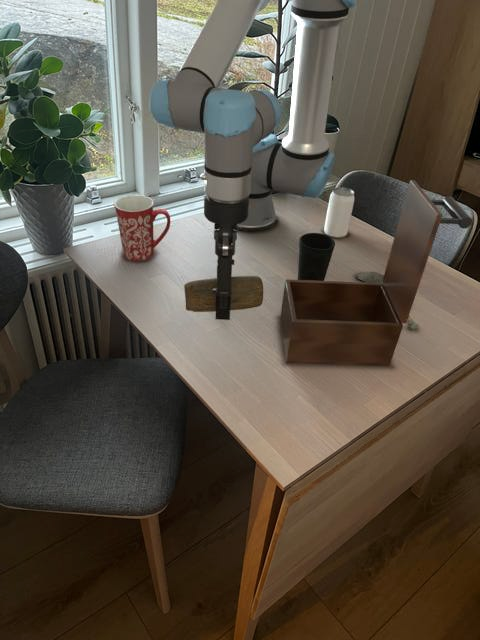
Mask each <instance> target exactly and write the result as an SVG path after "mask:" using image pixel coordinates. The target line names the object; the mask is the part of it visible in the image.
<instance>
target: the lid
mask: <svg viewBox="0 0 480 640" xmlns="http://www.w3.org/2000/svg"><path fill="white" fill-rule="evenodd" d="M438 206H442V208H443V209H444V210H445V211H446V212H447V213H448V214H449V216H450V217H443V213H442V212H441V211H440V209H439V208H438ZM399 215H400V216H399V219H398V222H397V226H396V230H395V234H394V238H393V241H392V245H391V248H390V252H389V255H388V258H387V263H386V266H385V270H384V273H383V275H384V277H383V283H384V286H385V288H386V290H387V292H388V294H389V296H390V299H391V301H392V303H393V305H394V307H395V309H396V311H397V314H398V316H399V318H400V320H401V322H402V324H407V323H408V317H409V315H410V314H411V310H412V308H413V305H414V301H415V299H416V297H417V296H416V295H417V292H418V290H419V287H420V284H421V280H422V278H423V275H424V272H425V268H426V265H427V263H428V260H429V257H430V254H431V250H432V249H433V244H434V241H435V238H436V236H437V233H438V229H439V228H440V224H443V225H447V224H448V225H458V226H459V228H461V229H465V230H466V229H468V228H470V227H471V226H472V224H473V218H472V217H471V216H470V215H469V214H468V212H466V211H465V210H464V209H463V207H462V206H461V205H460V204H459V203H458V202H457V201H456V200H455V198H454V197H453V196H445V197H444V198H443V199H431V198H430V197H429V196H428V195H427V194H426V192H425V190H423V189H422V187H421V186H420V185H419V184H418V183H417V181H416V180H415V179H410V180H409V183H408V187H407V191H406V194H405V197H404V201H403V205H402V208H401V211H400V214H399Z"/></svg>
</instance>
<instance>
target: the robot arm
mask: <svg viewBox="0 0 480 640" xmlns="http://www.w3.org/2000/svg"><path fill="white" fill-rule="evenodd" d="M270 1H271V0H217V1H216V3H215V5H214V6H213V8H212V10H211V12H210V13H209V16H208V18H207V19H206V21H205V23H204V25H203V26H202V28H201V30H200V32H199V34H198V36H197V37H196V40H195V41H194V43H193V45H192V47H191V48H190V51H189V52H188V53H187V56H186V58H185V60H184V62H183V64H182V65H181V67H180V69H179V70H178V72H177V74H176V76H175V77H174V79H171V78H167V79H160V80H158V81H156V82H155V83H154V84H153V86H152V87H151V90H150V94H149V102H148V103H149V104H148V105H149V111H150V114H151V116H152V119H153V120H154V122H155V123H156V124H158V125H160V126H163V127H168V128H170V129H171V128H172V129H174V130H182V131H189V132H195V133H198V134H199V133H200V134H203V136H204V137H203V138H204V139H203V140H204V164H203V165H204V173H201V174H200V176H199V177H200V180H202V181H204V187H203V189H204V196H203V215H204V217H205V219H206V220H207V221H209V222H211V223H213V224H214V229H213V239H214V243H215V245H214V246H215V247H214V254H215V255H216V256H217V260H216V262H217V265H216V278H217V288H216V289H213V293H216V312H215V320H220V321H221V320H224V321H230V320H231V310H230V305H231V294H232V292H231V277H233V275H232V273H233V266H235V259H233V257H234V256H235V254H236V241H237V240H238V231H243V232H259V231H265V230H267V229H270V228H271V227H273V226H274V225H275V223H276V218H277V216H276V215H277V214H276V210H275V205H274V201H273V196H272V193H273V192H272V191H277V192H281V193H285V194H291V195H294V196H300V197H302V198H305V197H306V198H311V199H317V198H319V197H320V196H321V195H322V194H323V193H324V191H325V189H326V186H327V184H328V181H329V178H330V176H331V173H332V170H333V167H334V163H335V159H336V158H335V157H336V155H335V153H333V152H332V151H330V142H329V140H328V139H327V138H326V137H325V134H326V127H327V120H328V112H329V105H330V104H329V103H330V96H331V90H332V81H333V75H334V67H335V66H334V65H335V60H336V51H337V44H338V38H339V37H338V36H339V30H340V25H341V24H342V22H343V21H345V20H346V19H347V18H348V17H349V12H350V9H351V8H353V7H355V6H356V5H357V4H358V2H359V0H287V1H288V2H291V10H290V11H291V12H290V14H291V16H292V17H293V18H294V20H295V21H296V23H297V29H296V40H295V43H296V44H295V51H294V65H293V66H294V67H293V79H292V91H291V101H290V102H291V103H290V113H289V114H290V116H289V128H288V134H287V135H286V136H285V137H284V138H283V139H282V141H281V143H279V142H278V141H279V140H278V136H277V135H276V134H273V132H274V130H275V129H276V128H277V127H278V125H279V124H280V122H281V121H280V120H281V117H282V108H281V103H280V101H279V100H278V97H277V96H276V95H275V94H274V93H273V92H272V91H270V90H267V89H265V88H259V89H258V88H256V89H251V90H249V91H248V92H247V91H244V90H239V89H226V88H220V87H221V85H222V83H223V81H224V80H225V78H226V76H227V73H228V72H229V70H230V68H231V65H232V64H233V62H234V60H235V59H236V55H237V54H238V52H239V50H240V49H241V46H242V44H243V42H244V40H245V38H246V36H247V34H248V32H249V30H250V29H251V26H252V24H253V22H254V21H255V19H256V17H257V15H258V13H259V12H261V11H263V10H264V9H266V8H267V6H268V4H269V2H270Z"/></svg>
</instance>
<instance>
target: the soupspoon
mask: <svg viewBox="0 0 480 640" xmlns="http://www.w3.org/2000/svg"><path fill="white" fill-rule="evenodd" d="M383 277H384V273H383V274H382V273H381V272H377V271H365V272H362V273H360V274H358V275H357V276H356V278H357V279H358V280H360V281H361V282H367V283H383ZM407 323H409V329H410V330H415V329H417V328H418V327H419V323H416V321H414V320H413V318H412V316H411V315H410V314H409V317H408V320H407Z"/></svg>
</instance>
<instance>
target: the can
mask: <svg viewBox="0 0 480 640" xmlns="http://www.w3.org/2000/svg"><path fill="white" fill-rule="evenodd" d="M354 203H355V191H354V190H353V189H351V188H347V187H340V186H339V187H334V188H333V189H332V192H331V193H330V195H329V200H328V205H327V210H326V215H325V221H324V227H323V232H324V234H325V235H327V236H329V237H331V238H336V239H337V238H338V239H340V238H344V237H346V236H347V235H348V232H349V227H350V223H351V220H352V219H351V217H352V214H353V209H354Z"/></svg>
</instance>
